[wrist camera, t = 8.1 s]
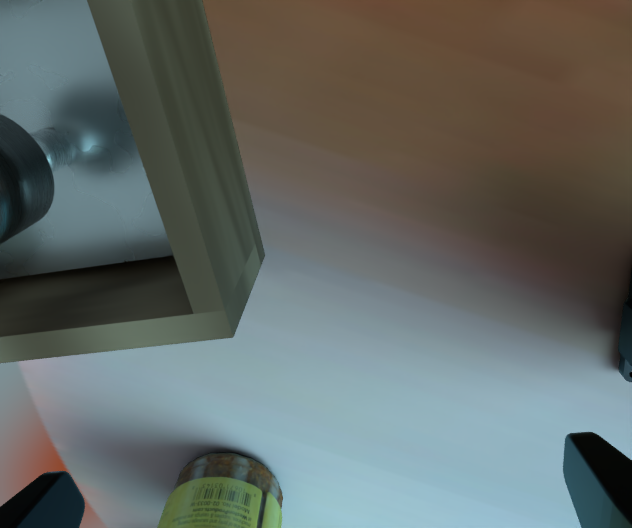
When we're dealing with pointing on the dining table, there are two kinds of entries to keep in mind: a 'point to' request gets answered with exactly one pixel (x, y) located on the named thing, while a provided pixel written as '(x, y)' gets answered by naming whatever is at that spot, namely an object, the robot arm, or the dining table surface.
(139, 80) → the frame
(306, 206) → the dining table surface
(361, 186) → the dining table surface
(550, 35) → the dining table surface
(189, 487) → the sauce bottle
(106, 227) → the plunger
